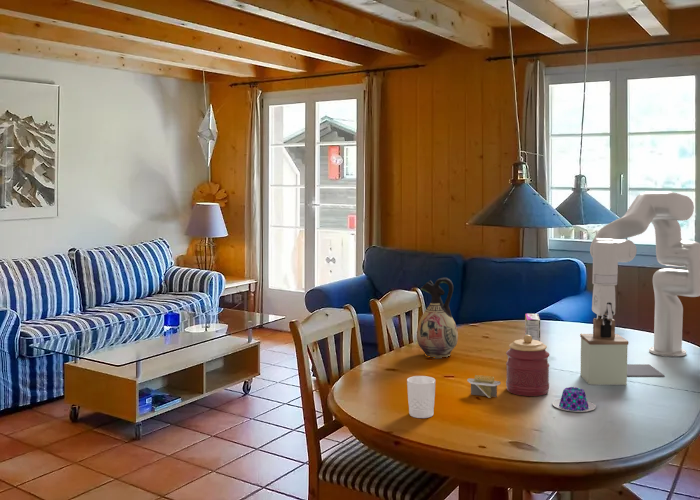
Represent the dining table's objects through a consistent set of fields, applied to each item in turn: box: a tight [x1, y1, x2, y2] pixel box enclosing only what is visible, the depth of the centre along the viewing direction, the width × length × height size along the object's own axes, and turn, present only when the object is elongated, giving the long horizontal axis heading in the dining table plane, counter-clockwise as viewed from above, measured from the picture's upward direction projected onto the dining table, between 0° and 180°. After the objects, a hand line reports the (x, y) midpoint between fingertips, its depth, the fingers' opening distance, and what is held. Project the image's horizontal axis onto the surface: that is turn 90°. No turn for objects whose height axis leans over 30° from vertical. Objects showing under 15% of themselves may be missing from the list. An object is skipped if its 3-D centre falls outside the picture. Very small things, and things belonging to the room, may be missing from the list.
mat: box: [627, 363, 665, 378], centre depth 235 cm, size 14×14×1 cm
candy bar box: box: [524, 313, 541, 341], centre depth 249 cm, size 11×5×16 cm, turn 168°
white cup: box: [406, 375, 436, 419], centre depth 194 cm, size 8×8×10 cm
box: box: [579, 337, 629, 386], centre depth 224 cm, size 11×12×13 cm
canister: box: [505, 334, 550, 397], centre depth 214 cm, size 13×13×18 cm
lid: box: [579, 317, 629, 345], centre depth 223 cm, size 11×12×8 cm
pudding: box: [551, 386, 597, 413], centre depth 199 cm, size 12×12×5 cm
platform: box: [466, 374, 501, 399], centre depth 209 cm, size 12×18×7 cm, turn 66°
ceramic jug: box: [416, 277, 459, 359], centre depth 258 cm, size 17×15×30 cm
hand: (603, 335), depth 223 cm, fingers open, 3 cm apart
